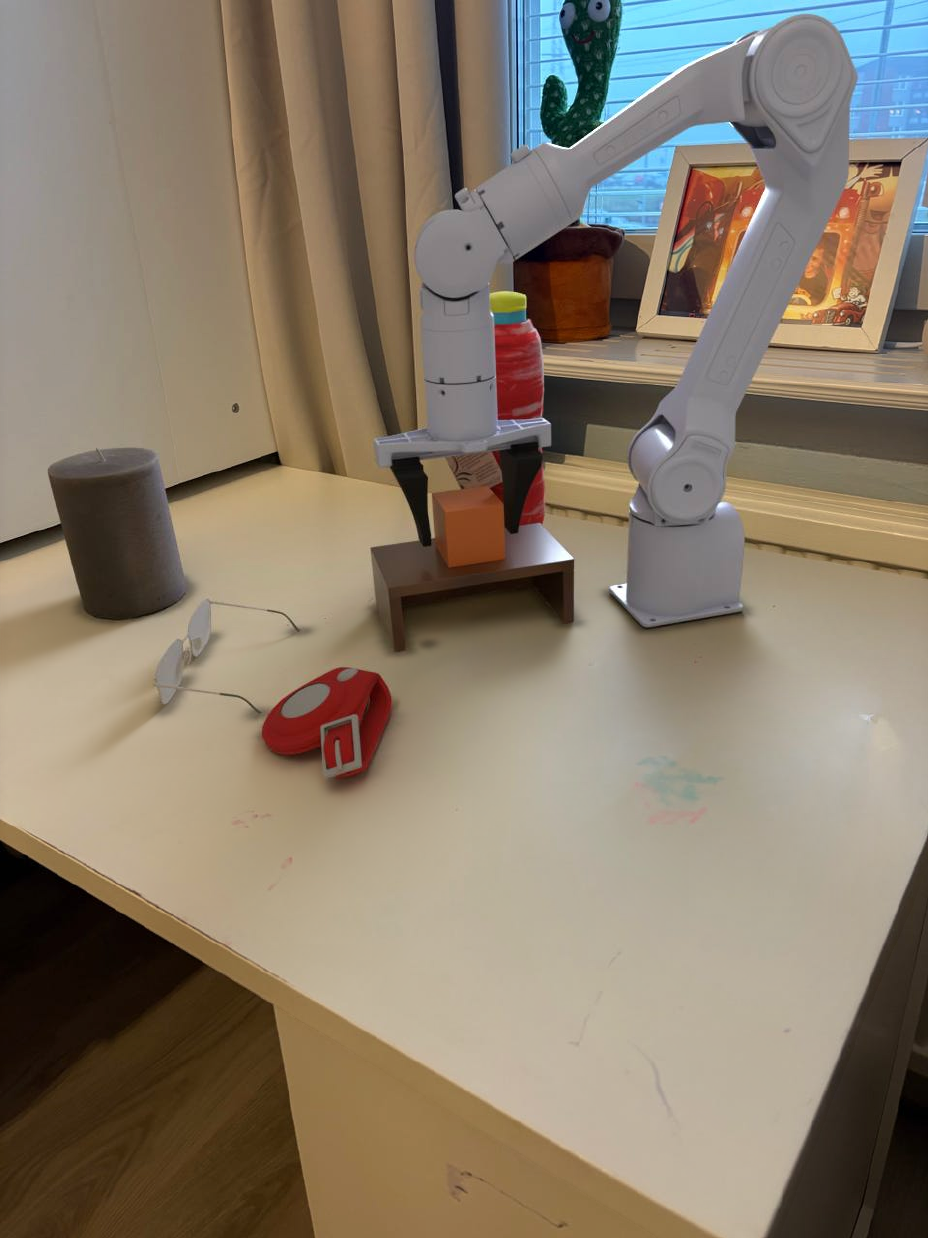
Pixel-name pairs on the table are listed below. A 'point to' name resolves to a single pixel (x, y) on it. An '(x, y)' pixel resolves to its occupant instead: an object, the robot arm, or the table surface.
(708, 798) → the table surface
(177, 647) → the eyeglasses
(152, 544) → the pillar candle
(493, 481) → the water bottle
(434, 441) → the robot arm
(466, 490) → the plain orange wooden cube
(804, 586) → the table surface
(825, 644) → the table surface
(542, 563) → the shelf
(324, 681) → the tracker holder
